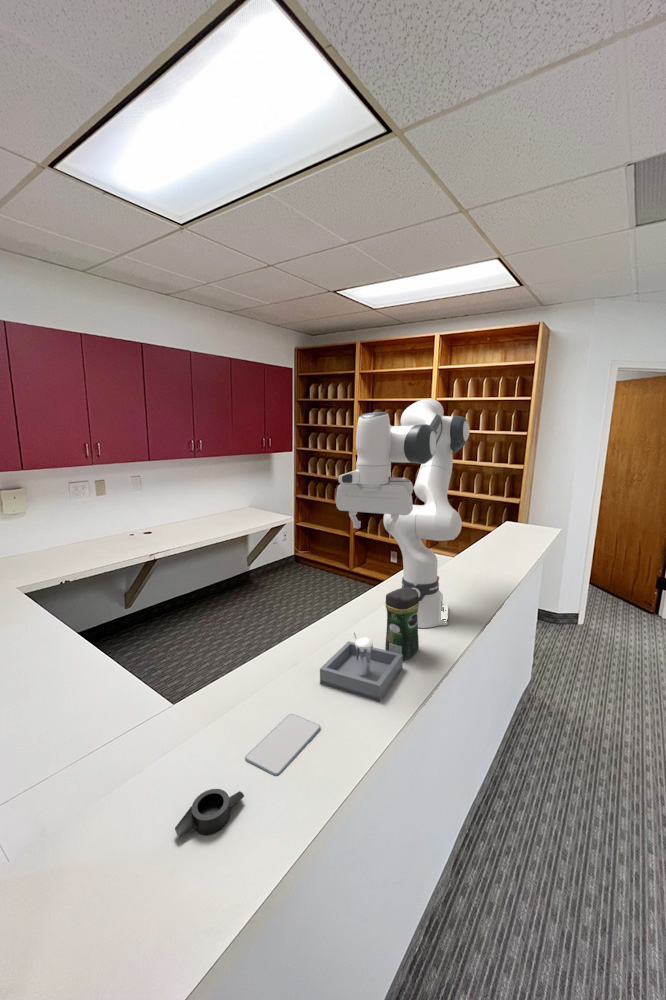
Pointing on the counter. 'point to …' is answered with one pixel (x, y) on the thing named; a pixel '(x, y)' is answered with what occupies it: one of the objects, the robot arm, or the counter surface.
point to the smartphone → (283, 744)
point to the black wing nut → (208, 813)
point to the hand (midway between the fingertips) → (373, 529)
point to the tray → (346, 677)
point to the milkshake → (363, 655)
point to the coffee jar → (402, 622)
